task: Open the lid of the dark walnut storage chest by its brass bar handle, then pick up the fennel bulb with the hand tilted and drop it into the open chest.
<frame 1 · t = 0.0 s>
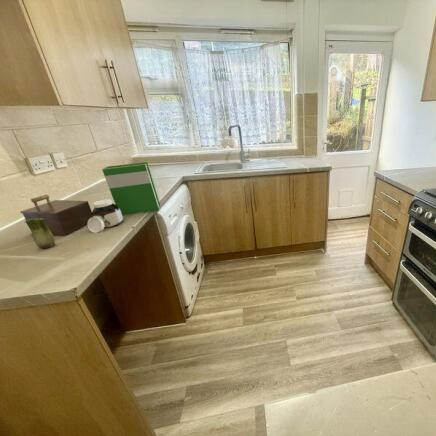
chest lid: (54, 202, 106), point 12 cm above the countertop, hinge at 0.0°
fennel bulb: (48, 247, 95), on the countertop
spread jar: (108, 227, 110), on the countertop
hardback book: (141, 211, 127), on the countertop
chest: (65, 227, 111), on the countertop
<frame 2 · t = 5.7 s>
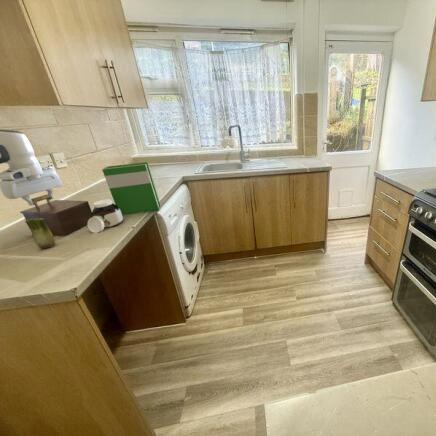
hand: (41, 202, 107), 12 cm above the countertop, tool pointing down, fingers closed on chest lid, 6 cm apart
chest lid: (54, 202, 106), point 12 cm above the countertop, hinge at -0.1°, touching gripper
everything else where it was.
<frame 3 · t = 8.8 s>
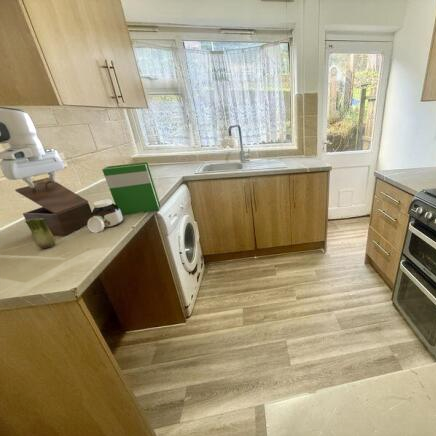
hand: (43, 185, 103), 20 cm above the countertop, tool pointing down, fingers closed on chest lid, 6 cm apart
chest lid: (54, 192, 104), point 17 cm above the countertop, hinge at 34.2°, touching gripper
everything else where it was.
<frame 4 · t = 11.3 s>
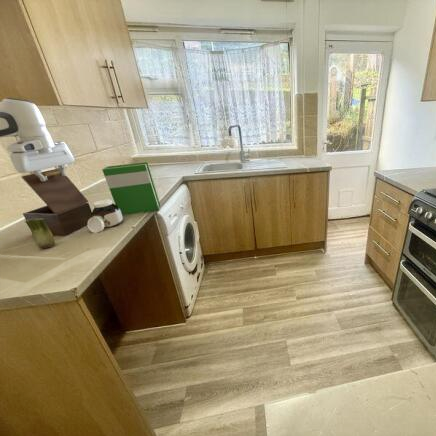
hand: (54, 178, 101), 23 cm above the countertop, tool pointing down, fingers closed on chest lid, 6 cm apart
chest lid: (60, 188, 103), point 19 cm above the countertop, hinge at 62.0°, touching gripper
everything else where it was.
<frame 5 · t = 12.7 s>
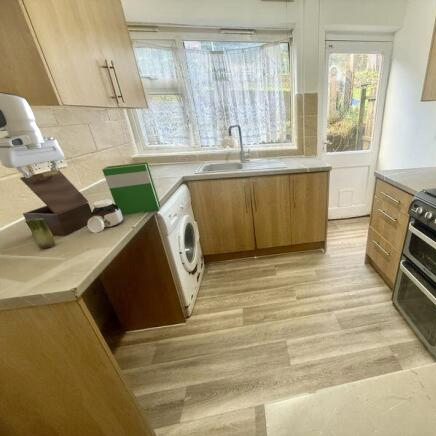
hand: (42, 174, 99), 25 cm above the countertop, tool pointing down, fingers open, 8 cm apart
chest lid: (59, 188, 103), point 19 cm above the countertop, hinge at 58.1°, touching gripper
everything else where it was.
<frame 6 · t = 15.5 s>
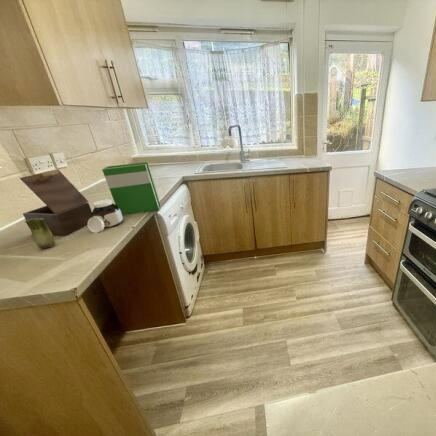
chest lid: (59, 188, 103), point 19 cm above the countertop, hinge at 57.9°
everything else where it was.
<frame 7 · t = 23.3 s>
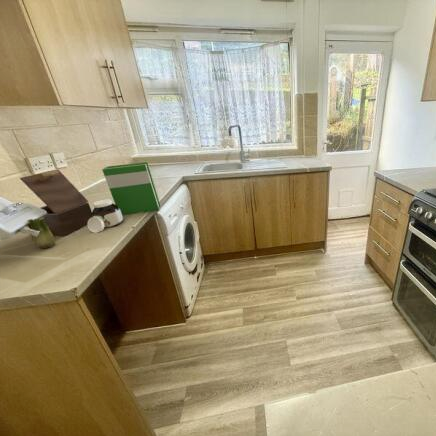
hand: (42, 231, 93), 6 cm above the countertop, tool tilted 45°, fingers closed on fennel bulb, 3 cm apart
fennel bulb: (48, 247, 95), on the countertop, touching gripper
everything else where it was.
when the fingers open (13 cm above the countertop, at t = 32.9 s): fennel bulb drops 6 cm, resting on chest.
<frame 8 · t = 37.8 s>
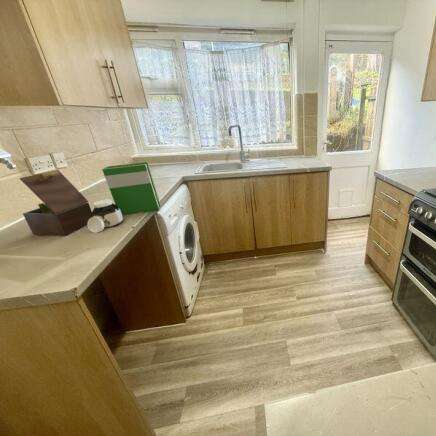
hand: (4, 170, 97), 27 cm above the countertop, tool tilted 45°, fingers open, 8 cm apart
chest lid: (59, 188, 103), point 19 cm above the countertop, hinge at 57.3°
fennel bulb: (56, 228, 109), point 1 cm above the countertop, touching chest
everything else where it was.
at the end: chest lid at +57° (first picture: +0°); fennel bulb inside the target area in the chest (3.0 cm from its centre), point 0.6 cm above the chest's base; the gripper is holding nothing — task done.
